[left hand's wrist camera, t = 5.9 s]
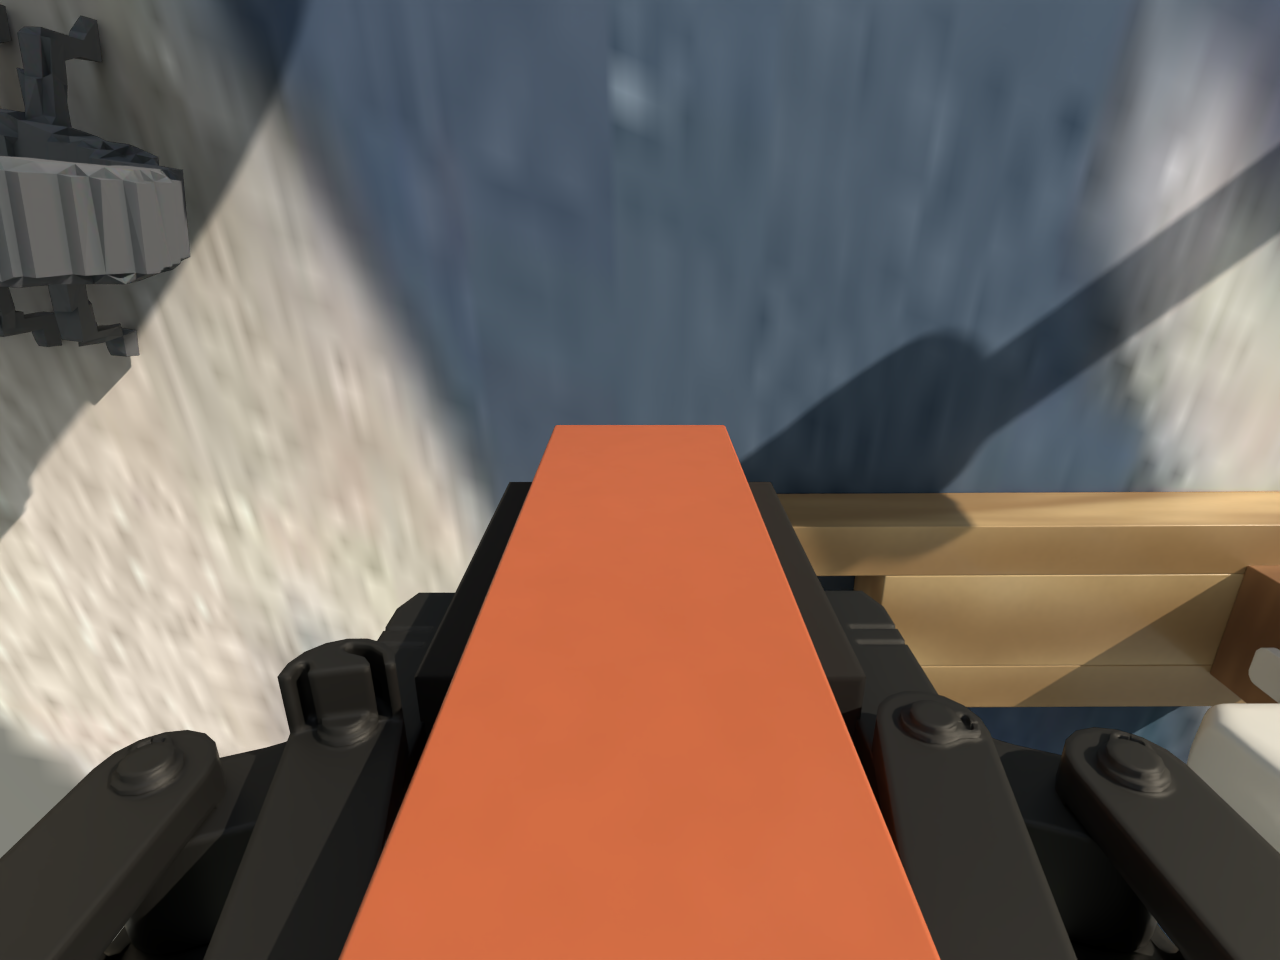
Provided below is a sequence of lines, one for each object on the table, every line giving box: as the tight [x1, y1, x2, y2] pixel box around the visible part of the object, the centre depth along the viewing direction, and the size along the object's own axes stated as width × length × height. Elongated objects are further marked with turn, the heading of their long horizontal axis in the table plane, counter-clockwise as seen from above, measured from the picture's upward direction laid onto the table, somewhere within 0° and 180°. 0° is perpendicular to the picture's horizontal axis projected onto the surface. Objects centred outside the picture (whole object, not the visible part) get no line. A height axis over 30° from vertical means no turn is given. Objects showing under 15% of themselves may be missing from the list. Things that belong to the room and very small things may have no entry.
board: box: [777, 491, 1280, 707], centre depth 31 cm, size 10×34×12 cm, turn 90°
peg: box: [338, 425, 940, 960], centre depth 10 cm, size 4×4×14 cm
